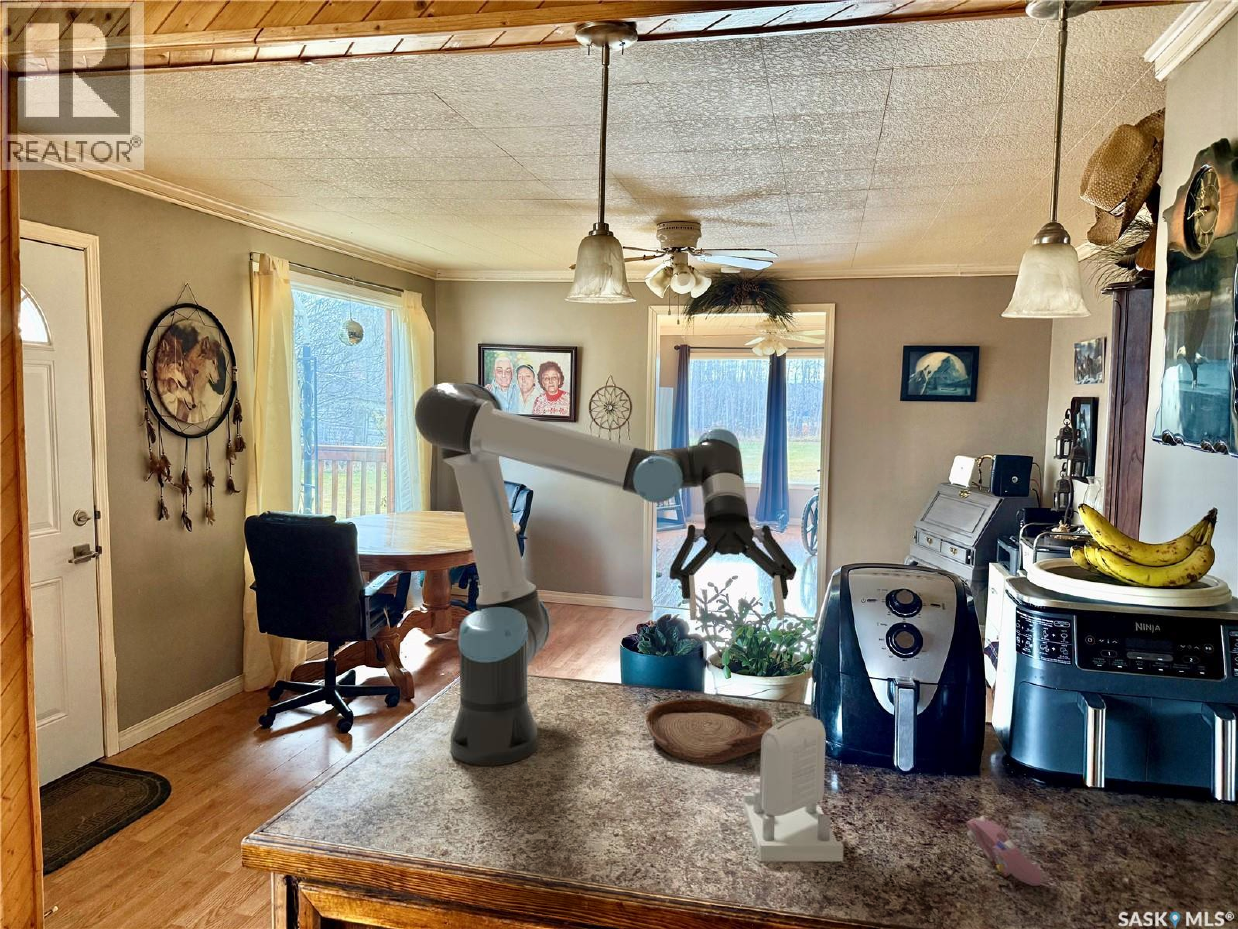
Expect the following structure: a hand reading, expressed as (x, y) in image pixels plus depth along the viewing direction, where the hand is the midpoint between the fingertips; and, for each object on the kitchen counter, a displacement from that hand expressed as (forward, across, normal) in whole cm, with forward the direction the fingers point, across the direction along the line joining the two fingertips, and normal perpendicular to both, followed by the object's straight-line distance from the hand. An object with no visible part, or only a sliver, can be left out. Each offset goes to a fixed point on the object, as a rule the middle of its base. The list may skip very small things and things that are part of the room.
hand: (737, 616), depth 122 cm
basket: (+8, +2, -32) cm, 33 cm away
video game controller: (+34, -32, -5) cm, 47 cm away
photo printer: (+26, -6, -8) cm, 28 cm away
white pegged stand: (+28, -6, -11) cm, 31 cm away
